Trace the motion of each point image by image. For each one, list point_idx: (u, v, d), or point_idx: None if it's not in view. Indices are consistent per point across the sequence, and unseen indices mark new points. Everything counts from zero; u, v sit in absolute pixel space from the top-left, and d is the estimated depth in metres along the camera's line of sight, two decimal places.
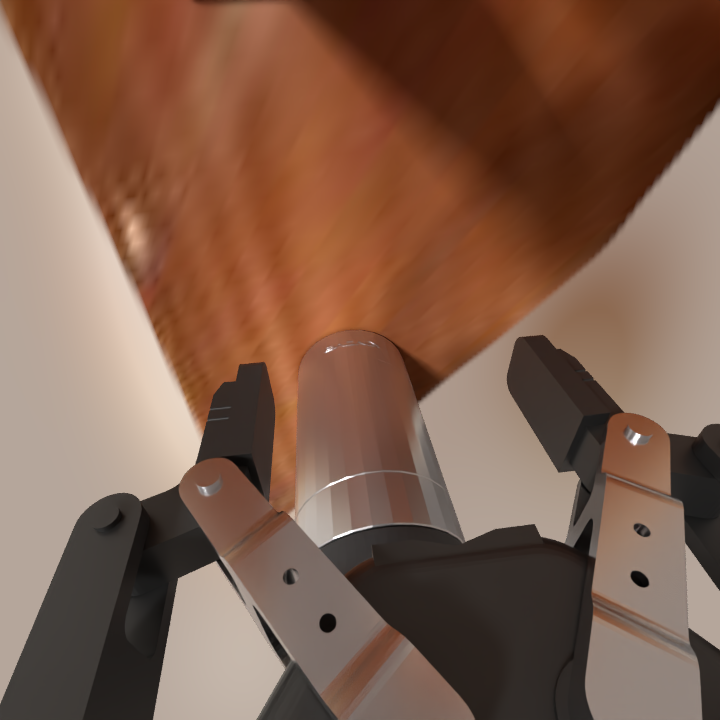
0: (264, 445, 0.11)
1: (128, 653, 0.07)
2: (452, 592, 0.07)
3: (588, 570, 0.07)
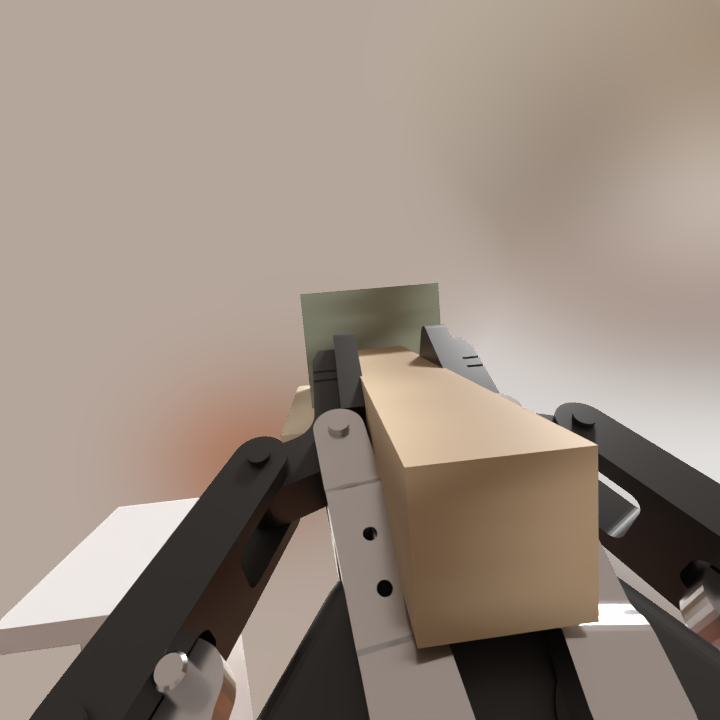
0: None
1: (237, 576, 0.08)
2: None
3: None
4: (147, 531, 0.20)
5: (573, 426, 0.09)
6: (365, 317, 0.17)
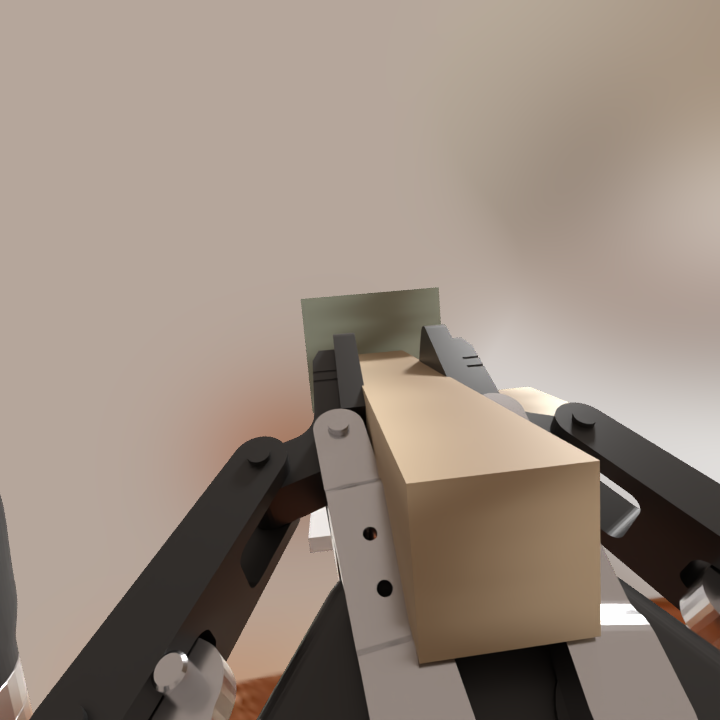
0: None
1: (237, 576, 0.08)
2: None
3: None
4: None
5: (573, 426, 0.09)
6: (365, 321, 0.17)
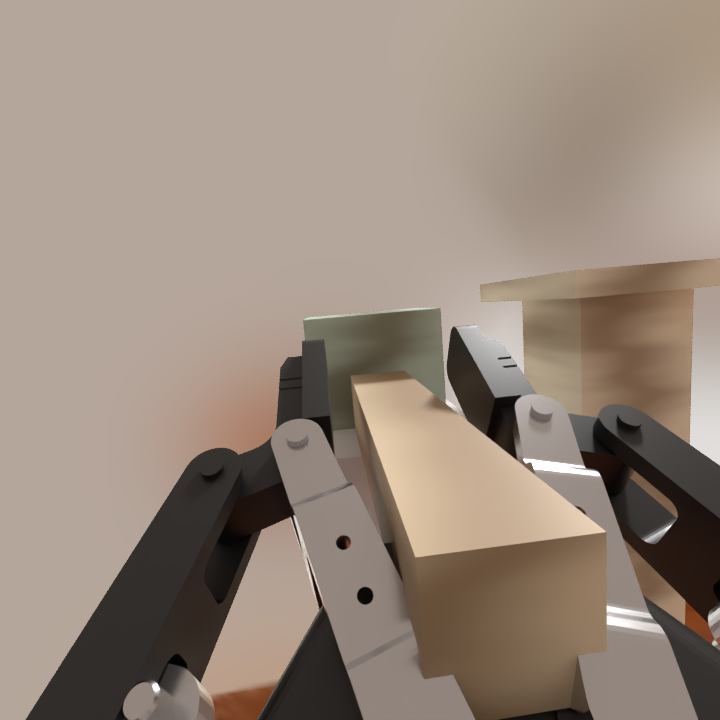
0: None
1: (203, 593, 0.07)
2: None
3: None
4: None
5: (616, 426, 0.09)
6: (367, 342, 0.17)
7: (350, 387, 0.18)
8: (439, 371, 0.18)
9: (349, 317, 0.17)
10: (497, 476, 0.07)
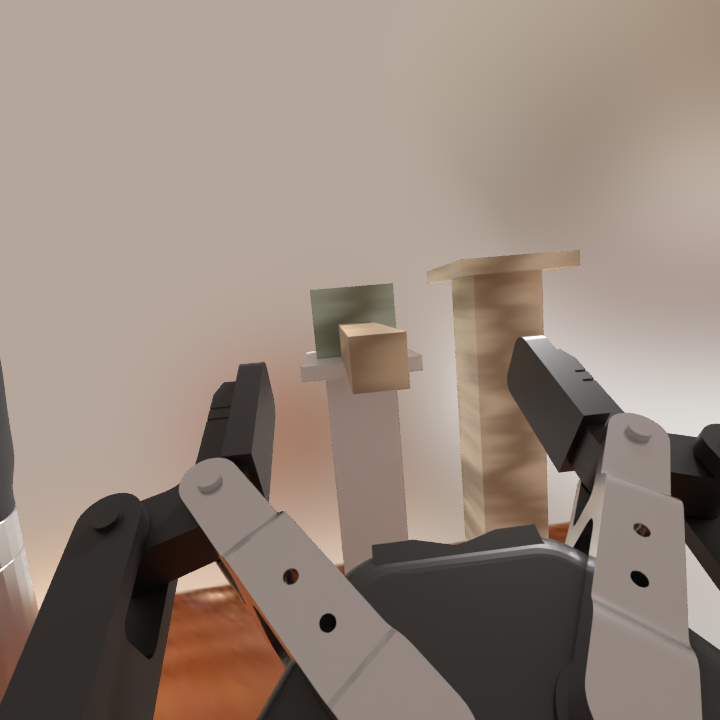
0: (264, 445, 0.11)
1: (128, 653, 0.07)
2: (452, 592, 0.07)
3: (588, 570, 0.07)
4: None
5: None
6: (348, 303, 0.29)
7: (338, 331, 0.29)
8: (392, 322, 0.29)
9: (337, 288, 0.29)
10: (385, 330, 0.18)
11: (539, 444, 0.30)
